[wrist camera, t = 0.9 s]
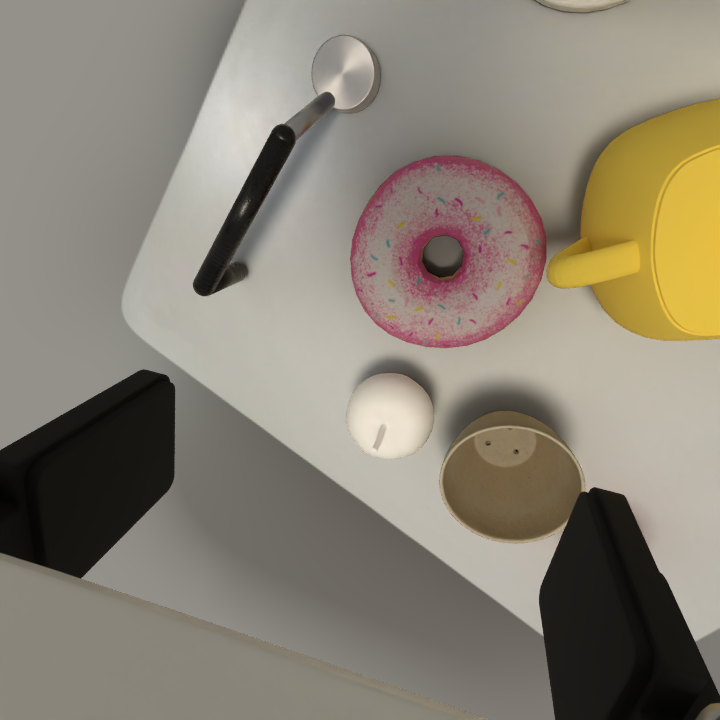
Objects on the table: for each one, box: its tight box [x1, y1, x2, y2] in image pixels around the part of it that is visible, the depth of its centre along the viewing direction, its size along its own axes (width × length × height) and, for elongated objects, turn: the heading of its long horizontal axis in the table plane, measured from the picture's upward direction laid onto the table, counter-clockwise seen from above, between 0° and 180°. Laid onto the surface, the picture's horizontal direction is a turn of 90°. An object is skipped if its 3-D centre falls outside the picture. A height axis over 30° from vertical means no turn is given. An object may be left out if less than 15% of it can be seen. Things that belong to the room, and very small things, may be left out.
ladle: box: [193, 35, 380, 296], centre depth 34 cm, size 20×4×7 cm, turn 145°
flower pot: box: [439, 411, 585, 543], centre depth 38 cm, size 10×10×7 cm
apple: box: [346, 373, 434, 459], centre depth 38 cm, size 7×7×8 cm
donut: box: [350, 156, 546, 348], centre depth 34 cm, size 14×13×5 cm
